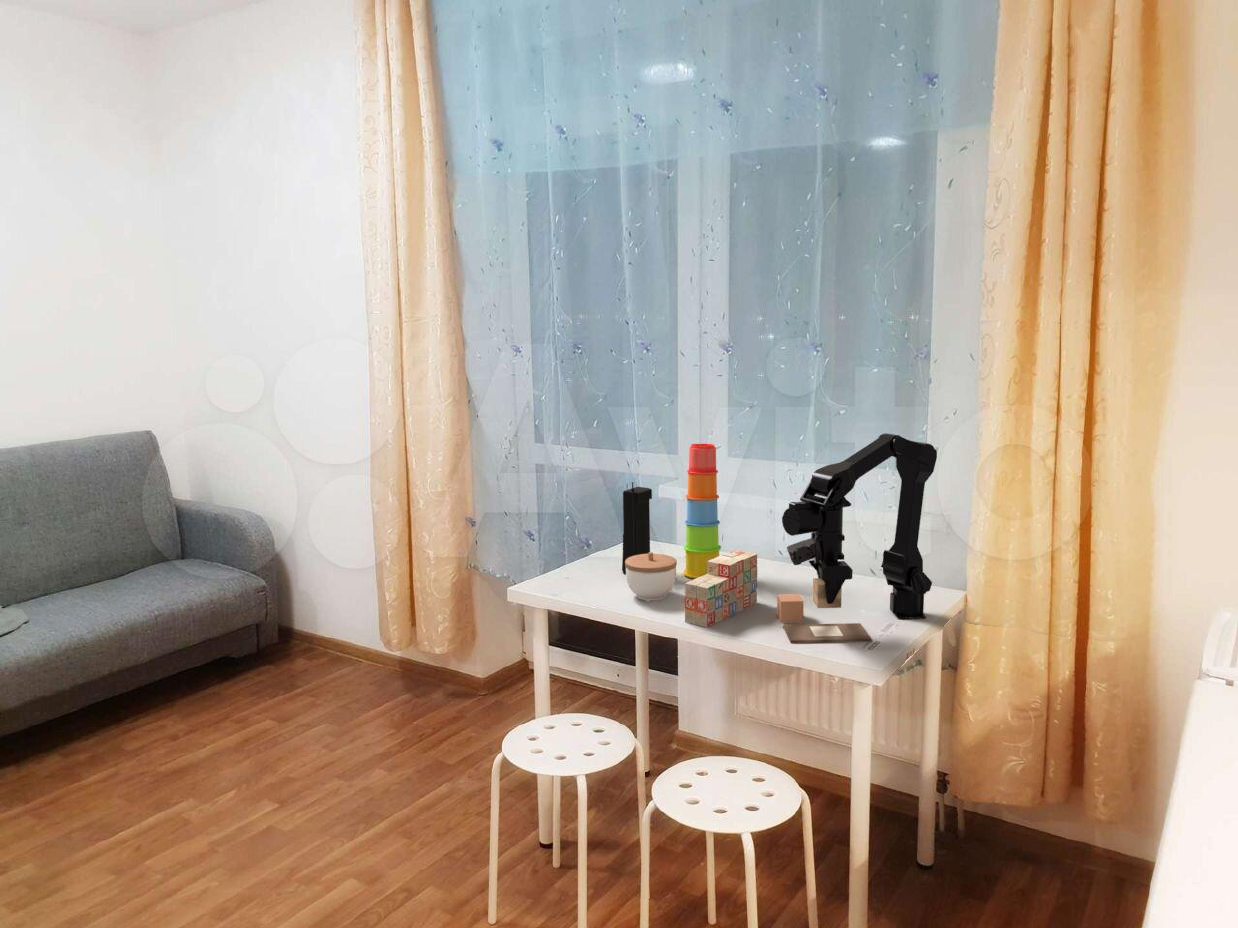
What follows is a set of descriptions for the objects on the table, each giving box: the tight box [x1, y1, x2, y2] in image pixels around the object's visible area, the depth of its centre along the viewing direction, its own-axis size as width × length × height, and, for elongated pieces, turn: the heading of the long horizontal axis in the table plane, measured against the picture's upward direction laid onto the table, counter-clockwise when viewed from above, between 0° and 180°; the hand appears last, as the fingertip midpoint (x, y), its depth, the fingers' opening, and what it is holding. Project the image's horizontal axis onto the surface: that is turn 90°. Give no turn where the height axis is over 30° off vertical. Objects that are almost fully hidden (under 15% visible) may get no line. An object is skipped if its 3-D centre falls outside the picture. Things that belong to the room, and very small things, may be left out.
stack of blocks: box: [684, 549, 758, 628], centre depth 212 cm, size 21×6×12 cm, turn 141°
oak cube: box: [812, 577, 843, 609], centre depth 196 cm, size 5×5×5 cm
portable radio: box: [621, 481, 653, 575], centre depth 243 cm, size 8×6×25 cm
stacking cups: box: [683, 443, 722, 579], centre depth 238 cm, size 10×10×35 cm
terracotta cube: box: [776, 593, 804, 624], centre depth 207 cm, size 5×5×5 cm
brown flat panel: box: [782, 622, 873, 644], centre depth 197 cm, size 17×10×1 cm, turn 89°
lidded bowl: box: [625, 551, 678, 602], centre depth 224 cm, size 13×13×11 cm
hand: (827, 599), depth 196 cm, fingers closed on oak cube, 5 cm apart
